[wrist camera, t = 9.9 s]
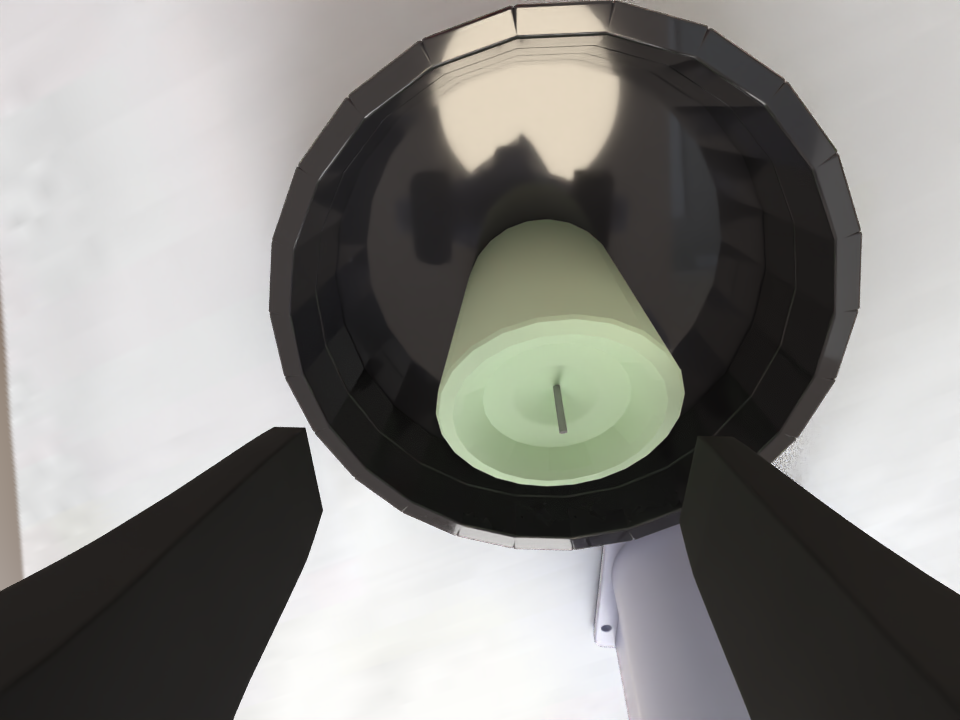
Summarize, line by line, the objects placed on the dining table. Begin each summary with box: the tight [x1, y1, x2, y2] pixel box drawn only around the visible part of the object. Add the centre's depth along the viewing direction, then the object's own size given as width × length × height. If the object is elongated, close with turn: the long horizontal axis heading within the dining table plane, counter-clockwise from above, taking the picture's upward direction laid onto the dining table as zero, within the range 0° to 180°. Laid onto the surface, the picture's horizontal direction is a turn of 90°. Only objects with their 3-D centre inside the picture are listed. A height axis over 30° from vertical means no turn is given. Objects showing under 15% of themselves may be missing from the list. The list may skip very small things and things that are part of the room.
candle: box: [436, 219, 685, 486], centre depth 13 cm, size 5×5×8 cm
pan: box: [269, 0, 862, 550], centre depth 15 cm, size 15×15×4 cm
